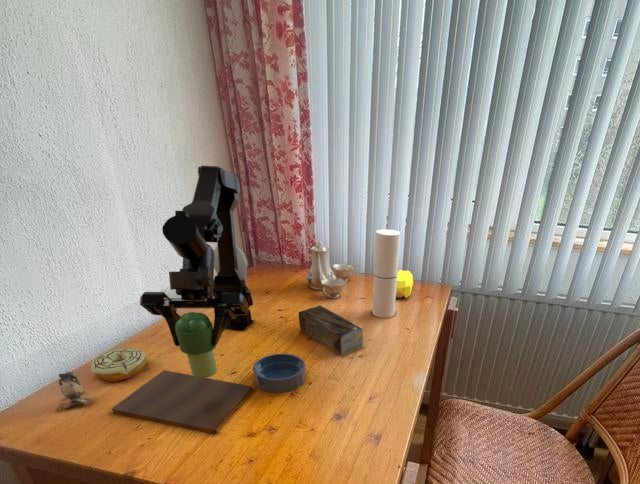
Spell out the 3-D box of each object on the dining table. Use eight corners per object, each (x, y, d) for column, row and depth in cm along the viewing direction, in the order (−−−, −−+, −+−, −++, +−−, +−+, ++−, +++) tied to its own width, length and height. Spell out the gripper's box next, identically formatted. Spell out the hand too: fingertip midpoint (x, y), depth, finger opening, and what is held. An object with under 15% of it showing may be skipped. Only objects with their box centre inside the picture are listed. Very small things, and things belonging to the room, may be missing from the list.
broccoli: (181, 372, 79) (164, 312, 72) (210, 360, 84) (197, 303, 76) (198, 384, 76) (182, 323, 68) (228, 371, 80) (216, 313, 73)
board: (113, 413, 76) (111, 408, 75) (165, 374, 88) (163, 369, 88) (214, 434, 73) (212, 429, 72) (253, 390, 85) (252, 386, 84)
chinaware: (346, 307, 130) (352, 258, 121) (297, 299, 129) (299, 249, 120) (353, 279, 153) (358, 237, 144) (312, 272, 152) (314, 229, 143)
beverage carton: (340, 357, 99) (340, 334, 95) (298, 331, 110) (296, 309, 106) (363, 348, 104) (364, 325, 100) (320, 324, 115) (319, 303, 111)
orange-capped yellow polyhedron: (387, 299, 134) (409, 301, 133) (388, 280, 130) (411, 283, 130) (393, 282, 149) (413, 284, 148) (394, 265, 145) (415, 267, 144)
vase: (64, 395, 80) (51, 370, 76) (95, 390, 82) (84, 366, 78) (57, 410, 76) (44, 385, 72) (90, 405, 78) (79, 380, 74)
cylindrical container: (368, 314, 122) (371, 232, 108) (377, 306, 128) (381, 228, 114) (389, 319, 120) (395, 236, 106) (397, 311, 126) (404, 231, 112)
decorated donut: (84, 383, 84) (78, 368, 82) (110, 358, 92) (105, 344, 90) (135, 383, 85) (129, 369, 82) (155, 358, 93) (151, 345, 91)
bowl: (245, 389, 85) (243, 374, 83) (269, 364, 94) (267, 350, 92) (294, 398, 83) (292, 383, 81) (313, 372, 93) (312, 357, 90)
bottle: (238, 284, 138) (224, 192, 121) (259, 292, 133) (246, 197, 116) (210, 292, 130) (190, 195, 113) (231, 301, 125) (213, 200, 108)
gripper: (127, 248, 68) (121, 332, 65) (236, 251, 71) (235, 332, 68) (155, 277, 79) (151, 350, 76) (249, 278, 82) (248, 349, 79)
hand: (195, 345), depth 75 cm, fingers closed on broccoli, 6 cm apart
